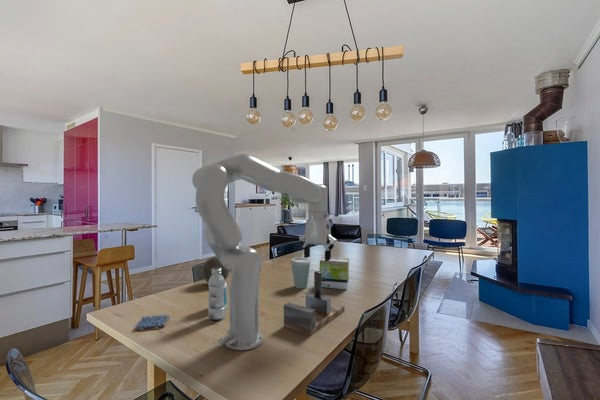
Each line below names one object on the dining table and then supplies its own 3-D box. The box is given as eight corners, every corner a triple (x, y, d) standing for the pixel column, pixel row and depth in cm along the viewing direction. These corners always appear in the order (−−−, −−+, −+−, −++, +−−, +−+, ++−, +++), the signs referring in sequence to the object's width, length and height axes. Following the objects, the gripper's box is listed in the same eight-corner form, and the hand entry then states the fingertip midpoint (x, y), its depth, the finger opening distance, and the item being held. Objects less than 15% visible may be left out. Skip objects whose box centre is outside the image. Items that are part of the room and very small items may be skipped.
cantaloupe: (231, 286, 154) (231, 258, 154) (203, 289, 149) (203, 261, 148) (227, 279, 167) (227, 254, 167) (202, 282, 162) (202, 256, 162)
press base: (310, 335, 99) (310, 312, 99) (283, 326, 106) (283, 305, 106) (344, 311, 120) (344, 292, 120) (320, 304, 127) (320, 287, 127)
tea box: (319, 287, 151) (319, 260, 151) (322, 282, 161) (322, 256, 161) (347, 289, 148) (347, 261, 148) (349, 284, 158) (348, 257, 157)
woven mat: (133, 333, 102) (133, 328, 102) (141, 321, 112) (141, 316, 112) (165, 330, 104) (165, 324, 104) (170, 318, 115) (170, 313, 115)
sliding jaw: (326, 315, 110) (326, 274, 110) (305, 309, 116) (305, 271, 116) (330, 312, 112) (330, 273, 112) (309, 307, 118) (309, 269, 118)
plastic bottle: (218, 314, 117) (218, 265, 117) (228, 318, 113) (228, 268, 113) (204, 319, 112) (204, 268, 112) (214, 323, 108) (214, 271, 108)
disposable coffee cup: (314, 285, 155) (313, 258, 155) (304, 291, 145) (304, 262, 145) (297, 282, 160) (297, 256, 160) (286, 288, 151) (286, 259, 151)
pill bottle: (208, 312, 118) (208, 280, 118) (209, 306, 126) (209, 275, 125) (227, 311, 120) (227, 279, 120) (226, 304, 128) (226, 274, 127)
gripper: (341, 216, 112) (340, 260, 112) (305, 215, 122) (304, 254, 122) (332, 217, 106) (331, 263, 106) (294, 215, 116) (294, 257, 116)
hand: (317, 258), depth 114 cm, fingers open, 9 cm apart
